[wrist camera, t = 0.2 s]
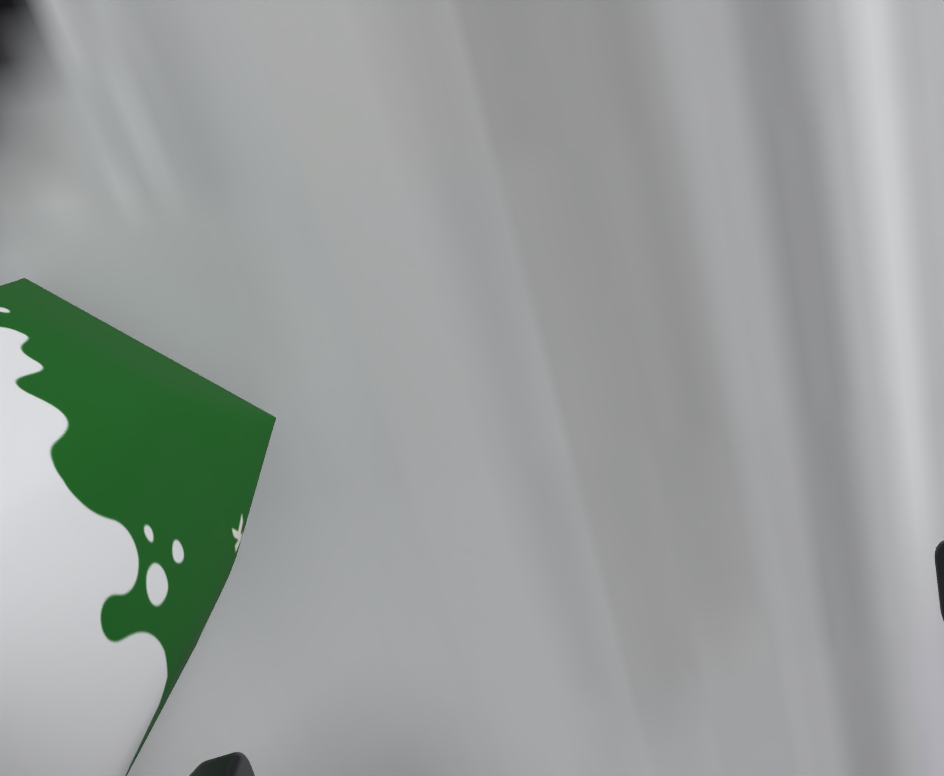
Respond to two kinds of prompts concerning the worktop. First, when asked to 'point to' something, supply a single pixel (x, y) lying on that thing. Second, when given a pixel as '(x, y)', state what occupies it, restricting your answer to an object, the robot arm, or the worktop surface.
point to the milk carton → (106, 530)
